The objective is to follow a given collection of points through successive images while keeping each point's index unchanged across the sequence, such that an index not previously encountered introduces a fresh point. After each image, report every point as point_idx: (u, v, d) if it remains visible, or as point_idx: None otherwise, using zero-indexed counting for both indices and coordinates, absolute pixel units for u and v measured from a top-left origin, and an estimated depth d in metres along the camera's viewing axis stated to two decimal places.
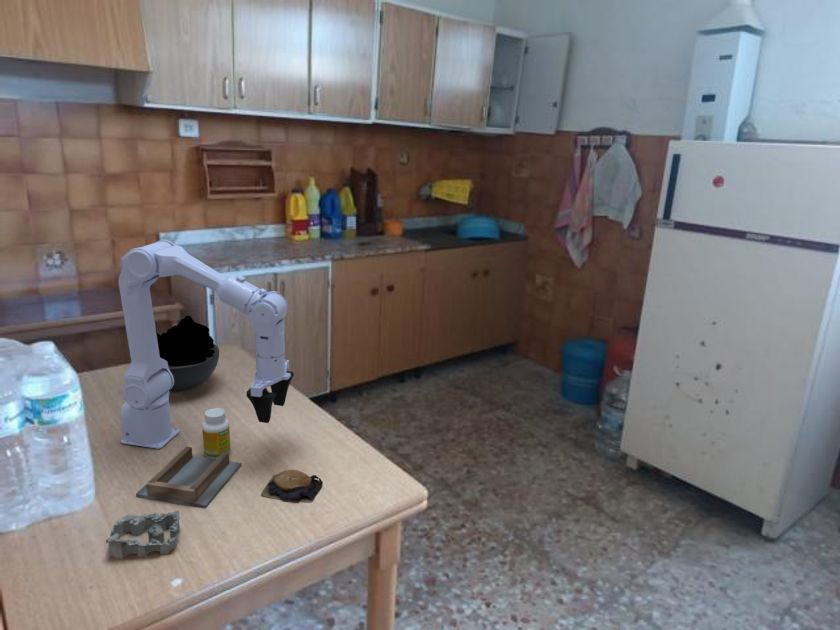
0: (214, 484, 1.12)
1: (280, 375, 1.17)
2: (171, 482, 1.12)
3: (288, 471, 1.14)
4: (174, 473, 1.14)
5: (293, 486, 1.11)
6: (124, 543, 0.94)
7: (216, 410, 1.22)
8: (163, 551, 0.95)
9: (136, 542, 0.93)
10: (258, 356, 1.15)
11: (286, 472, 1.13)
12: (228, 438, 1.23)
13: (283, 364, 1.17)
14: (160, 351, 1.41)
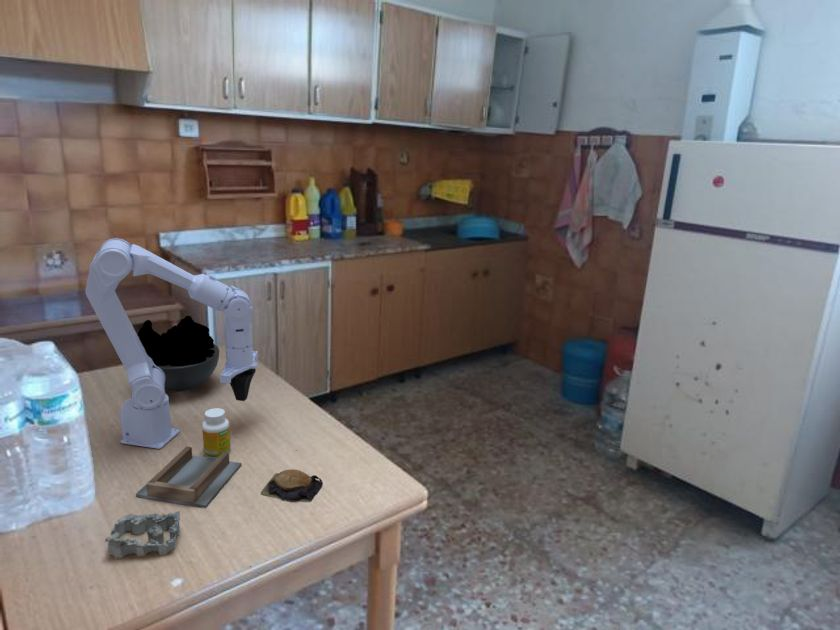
0: (214, 484, 1.12)
1: (248, 364, 1.29)
2: (171, 482, 1.12)
3: (288, 470, 1.14)
4: (174, 473, 1.14)
5: (292, 486, 1.11)
6: (123, 542, 0.94)
7: (216, 410, 1.22)
8: (161, 552, 0.95)
9: (135, 542, 0.93)
10: (227, 347, 1.27)
11: (286, 471, 1.14)
12: (228, 438, 1.23)
13: (251, 354, 1.29)
14: (160, 351, 1.41)
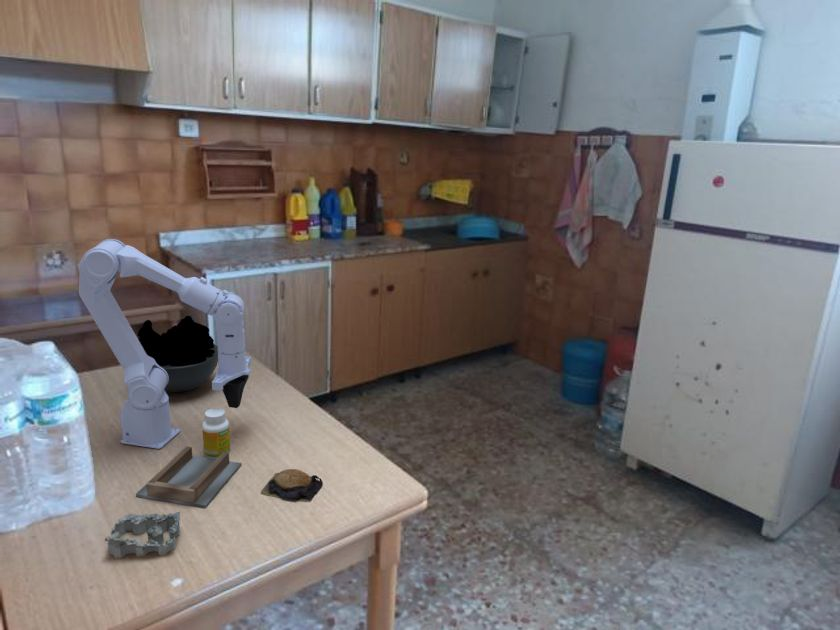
0: (214, 484, 1.12)
1: (241, 370, 1.25)
2: (171, 482, 1.12)
3: (289, 470, 1.14)
4: (174, 473, 1.14)
5: (292, 485, 1.11)
6: (123, 542, 0.94)
7: (216, 410, 1.22)
8: (161, 552, 0.95)
9: (134, 542, 0.93)
10: (219, 353, 1.23)
11: (287, 471, 1.14)
12: (228, 438, 1.23)
13: (243, 360, 1.26)
14: (160, 351, 1.41)
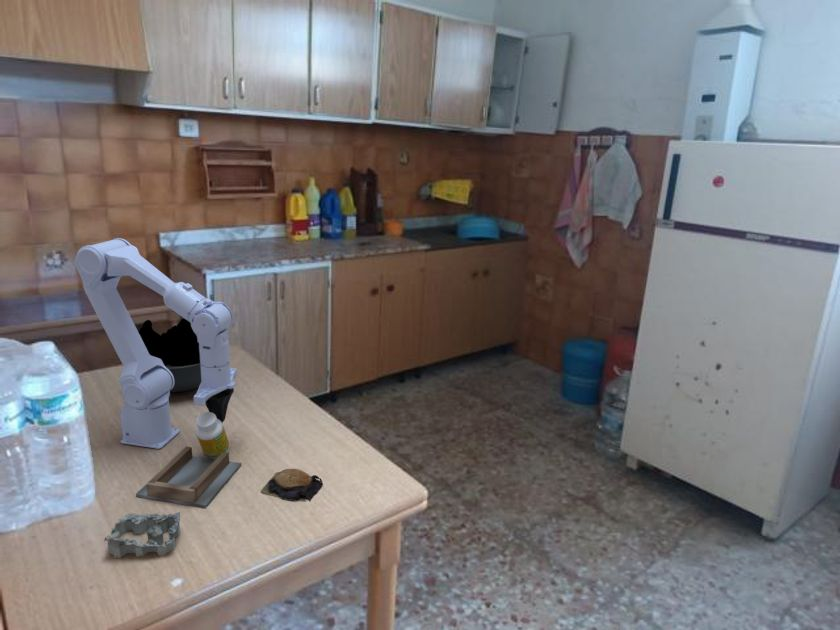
0: (214, 484, 1.12)
1: (225, 384, 1.19)
2: (171, 482, 1.12)
3: (289, 470, 1.14)
4: (174, 473, 1.14)
5: (292, 485, 1.11)
6: (122, 542, 0.94)
7: (207, 415, 1.18)
8: (160, 553, 0.95)
9: (134, 542, 0.93)
10: (202, 366, 1.17)
11: (287, 470, 1.14)
12: (224, 438, 1.21)
13: (228, 373, 1.19)
14: (160, 351, 1.41)
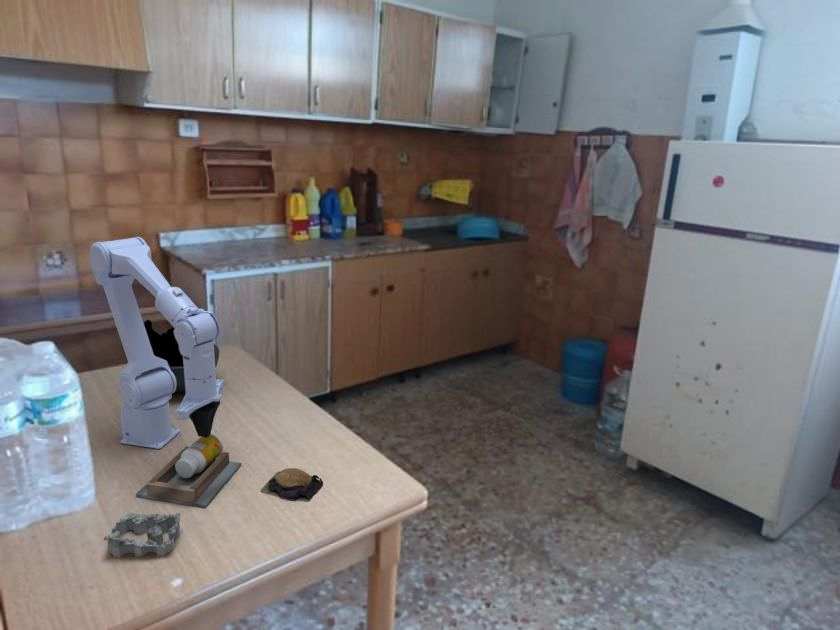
0: (214, 484, 1.12)
1: (210, 397, 1.13)
2: (171, 482, 1.12)
3: (289, 469, 1.15)
4: (174, 473, 1.14)
5: (292, 484, 1.11)
6: (122, 542, 0.94)
7: (182, 464, 1.12)
8: (159, 553, 0.94)
9: (133, 542, 0.93)
10: (186, 377, 1.11)
11: (287, 470, 1.14)
12: (213, 456, 1.17)
13: (213, 385, 1.13)
14: (160, 351, 1.41)
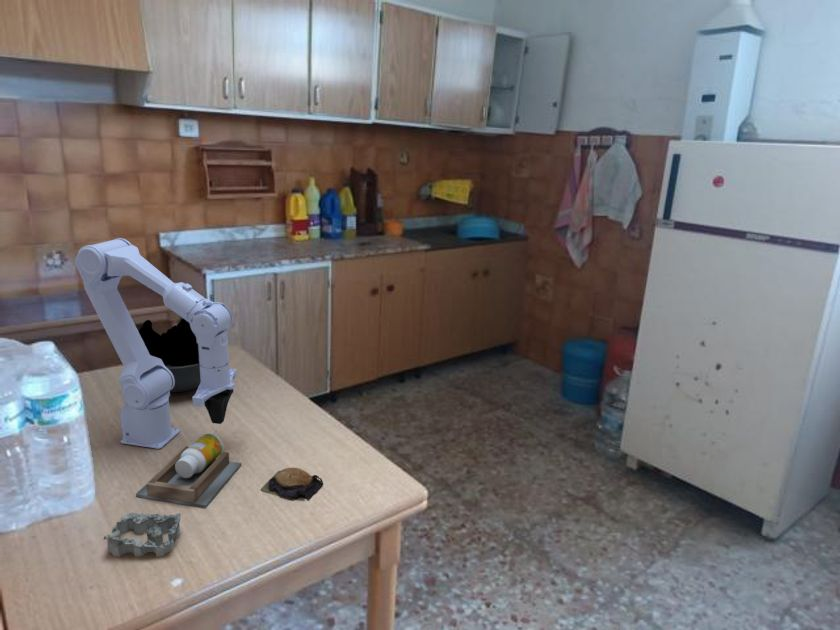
0: (214, 484, 1.12)
1: (224, 385, 1.18)
2: (171, 482, 1.12)
3: (290, 469, 1.15)
4: (174, 473, 1.14)
5: (292, 484, 1.12)
6: (121, 541, 0.94)
7: (182, 464, 1.12)
8: (158, 554, 0.94)
9: (132, 542, 0.93)
10: (201, 366, 1.16)
11: (288, 469, 1.14)
12: (213, 455, 1.17)
13: (227, 374, 1.19)
14: (160, 351, 1.41)
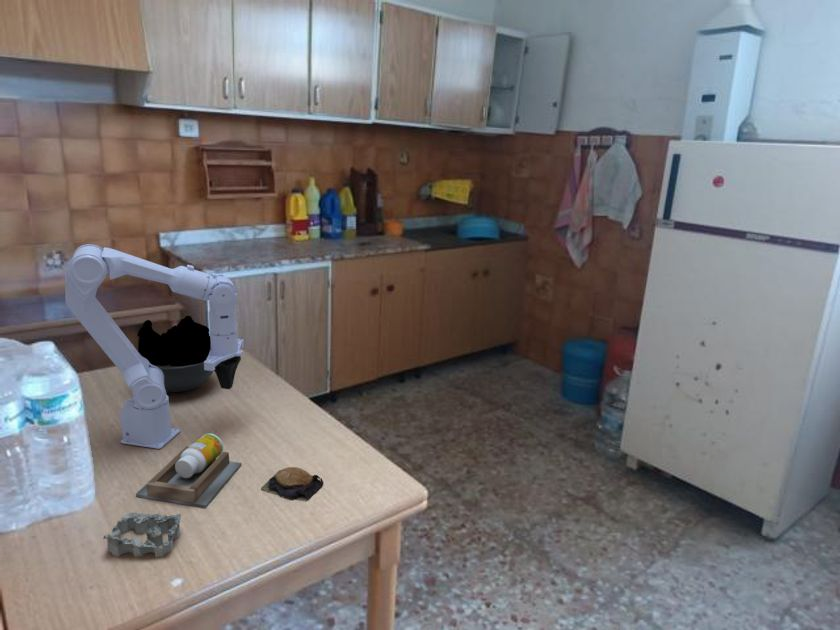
0: (214, 484, 1.12)
1: (233, 352, 1.27)
2: (171, 482, 1.12)
3: (290, 468, 1.15)
4: (174, 473, 1.14)
5: (291, 483, 1.12)
6: (121, 541, 0.94)
7: (182, 464, 1.12)
8: (157, 554, 0.94)
9: (131, 542, 0.93)
10: (212, 334, 1.25)
11: (288, 469, 1.15)
12: (213, 455, 1.17)
13: (235, 342, 1.27)
14: (160, 351, 1.41)
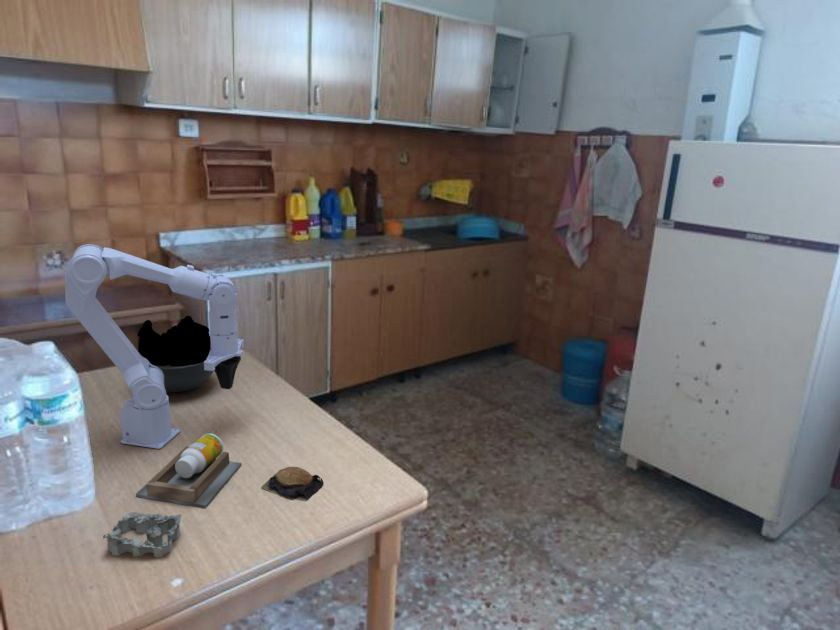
0: (214, 484, 1.12)
1: (233, 352, 1.27)
2: (171, 482, 1.12)
3: (290, 468, 1.15)
4: (174, 473, 1.14)
5: (291, 483, 1.12)
6: (121, 541, 0.94)
7: (182, 464, 1.12)
8: (156, 554, 0.94)
9: (131, 542, 0.93)
10: (212, 334, 1.25)
11: (288, 468, 1.15)
12: (213, 455, 1.17)
13: (235, 342, 1.27)
14: (160, 351, 1.41)
